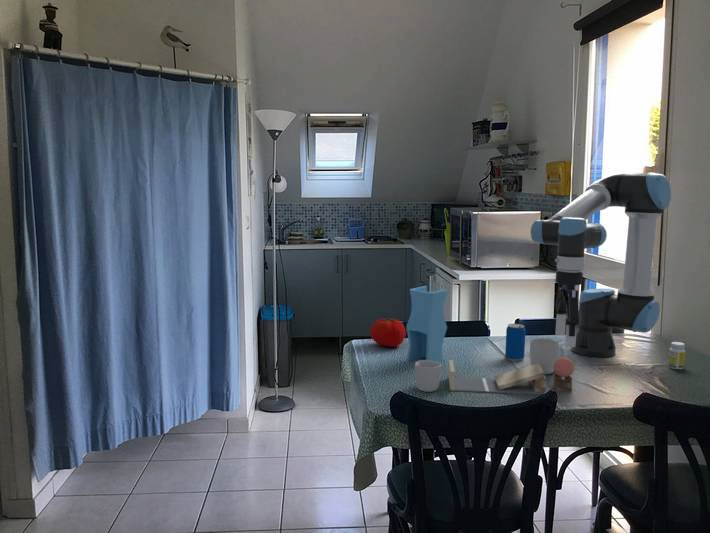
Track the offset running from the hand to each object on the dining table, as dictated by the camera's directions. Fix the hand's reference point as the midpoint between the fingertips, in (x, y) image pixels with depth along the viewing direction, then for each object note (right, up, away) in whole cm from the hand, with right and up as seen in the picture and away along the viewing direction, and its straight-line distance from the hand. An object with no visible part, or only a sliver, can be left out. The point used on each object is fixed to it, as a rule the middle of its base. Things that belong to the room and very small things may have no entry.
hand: (564, 340), depth 191 cm
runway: (-19, -14, +4) cm, 24 cm away
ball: (0, -11, +2) cm, 11 cm away
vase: (-38, -11, +30) cm, 50 cm away
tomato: (-50, -8, +48) cm, 70 cm away
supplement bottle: (+46, -12, +25) cm, 53 cm away
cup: (-41, -15, +3) cm, 44 cm away
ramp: (-13, -15, +4) cm, 20 cm away
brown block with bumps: (0, -15, +2) cm, 15 cm away
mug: (+1, -12, +20) cm, 24 cm away
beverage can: (-7, -10, +33) cm, 35 cm away
